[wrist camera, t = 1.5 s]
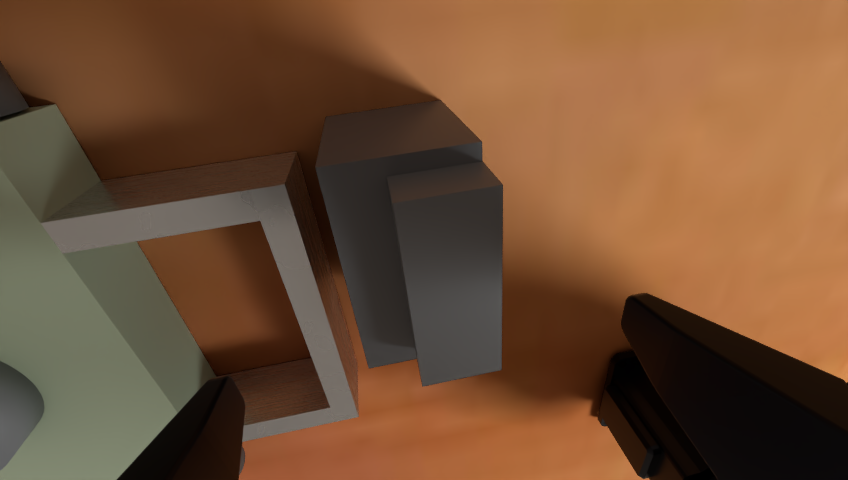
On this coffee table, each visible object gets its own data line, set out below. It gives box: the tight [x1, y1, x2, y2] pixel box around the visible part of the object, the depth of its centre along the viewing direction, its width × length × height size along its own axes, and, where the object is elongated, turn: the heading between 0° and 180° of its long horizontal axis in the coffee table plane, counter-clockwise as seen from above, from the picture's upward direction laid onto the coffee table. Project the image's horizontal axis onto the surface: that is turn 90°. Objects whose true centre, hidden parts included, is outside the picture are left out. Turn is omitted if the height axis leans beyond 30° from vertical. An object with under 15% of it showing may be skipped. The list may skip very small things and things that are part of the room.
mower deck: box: [0, 61, 245, 480], centre depth 14 cm, size 9×19×4 cm, turn 6°
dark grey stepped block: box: [315, 100, 503, 387], centre depth 12 cm, size 4×7×6 cm, turn 6°
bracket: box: [41, 151, 359, 442], centre depth 15 cm, size 6×11×3 cm, turn 6°
